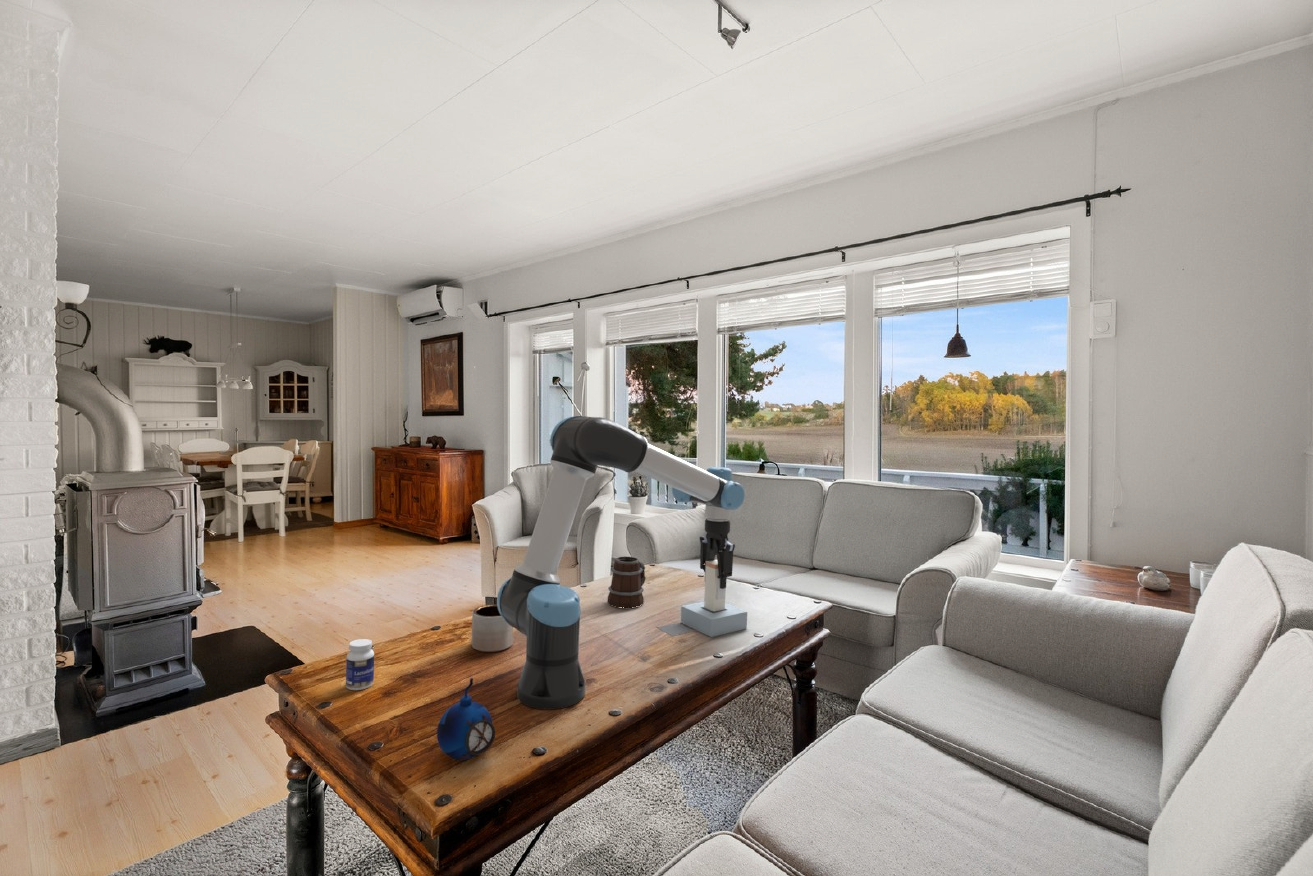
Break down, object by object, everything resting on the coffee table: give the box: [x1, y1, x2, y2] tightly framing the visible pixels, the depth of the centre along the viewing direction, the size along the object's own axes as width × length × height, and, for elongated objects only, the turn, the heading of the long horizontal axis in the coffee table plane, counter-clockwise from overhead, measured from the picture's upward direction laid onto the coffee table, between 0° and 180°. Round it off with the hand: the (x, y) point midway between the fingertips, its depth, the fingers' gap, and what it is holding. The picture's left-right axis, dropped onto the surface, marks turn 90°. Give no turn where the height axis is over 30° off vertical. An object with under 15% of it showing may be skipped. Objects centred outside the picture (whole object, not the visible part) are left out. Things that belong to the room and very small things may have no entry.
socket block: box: [680, 601, 748, 638], centre depth 185 cm, size 14×14×6 cm
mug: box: [607, 556, 647, 609], centre depth 208 cm, size 16×12×15 cm
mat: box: [656, 622, 695, 637], centre depth 181 cm, size 8×8×1 cm
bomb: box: [436, 677, 497, 761], centre depth 113 cm, size 10×11×15 cm
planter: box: [470, 604, 514, 653], centre depth 166 cm, size 11×11×10 cm
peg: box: [703, 559, 727, 612], centre depth 185 cm, size 4×4×14 cm
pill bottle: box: [345, 638, 375, 691], centre depth 140 cm, size 6×6×10 cm
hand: (714, 596), depth 185 cm, fingers closed on peg, 4 cm apart
